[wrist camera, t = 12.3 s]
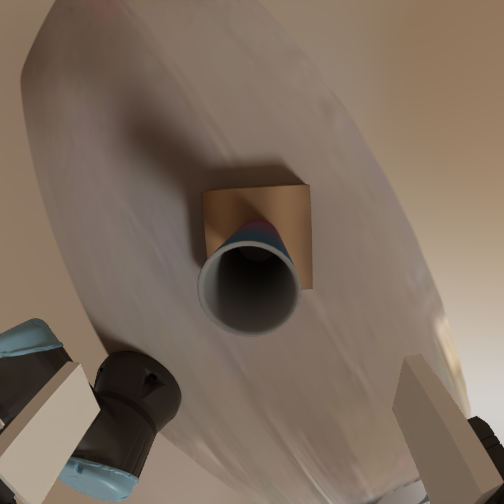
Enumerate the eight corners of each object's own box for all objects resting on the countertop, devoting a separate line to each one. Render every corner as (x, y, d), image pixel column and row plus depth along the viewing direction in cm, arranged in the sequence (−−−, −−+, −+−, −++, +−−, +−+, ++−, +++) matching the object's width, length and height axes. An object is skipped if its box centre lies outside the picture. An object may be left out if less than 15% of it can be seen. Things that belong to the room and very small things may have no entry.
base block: (217, 281, 40) (211, 293, 36) (208, 190, 37) (200, 191, 33) (308, 277, 39) (312, 288, 35) (305, 183, 36) (309, 185, 32)
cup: (271, 280, 35) (270, 351, 21) (218, 254, 35) (182, 310, 20) (299, 228, 33) (320, 270, 19) (243, 200, 33) (222, 222, 19)
